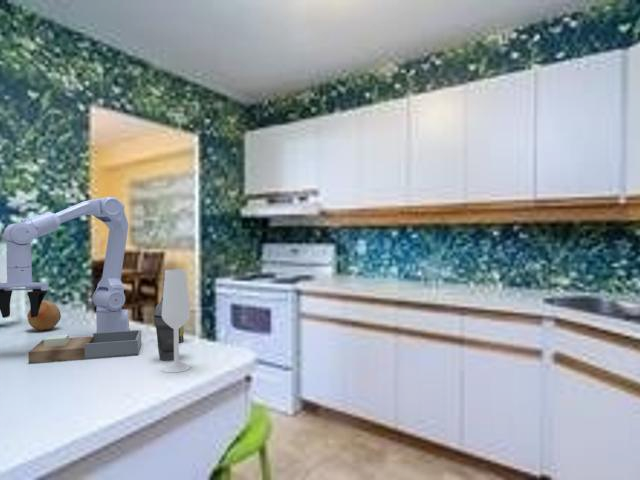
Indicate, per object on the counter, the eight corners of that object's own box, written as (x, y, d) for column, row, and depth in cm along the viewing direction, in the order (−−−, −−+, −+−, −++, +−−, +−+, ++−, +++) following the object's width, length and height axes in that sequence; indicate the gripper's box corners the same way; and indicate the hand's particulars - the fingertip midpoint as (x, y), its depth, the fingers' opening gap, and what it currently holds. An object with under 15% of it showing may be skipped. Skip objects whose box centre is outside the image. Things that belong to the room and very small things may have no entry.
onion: (29, 328, 163) (28, 300, 163) (62, 326, 167) (61, 298, 167) (25, 334, 154) (24, 303, 154) (59, 331, 158) (59, 301, 158)
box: (141, 343, 141) (141, 330, 141) (137, 355, 127) (137, 340, 127) (93, 346, 137) (93, 333, 137) (84, 359, 123) (84, 344, 123)
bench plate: (93, 346, 137) (93, 336, 137) (84, 359, 123) (84, 347, 123) (43, 350, 133) (43, 339, 133) (28, 363, 120) (28, 352, 120)
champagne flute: (161, 366, 117) (160, 269, 116) (189, 363, 119) (188, 268, 119) (162, 373, 111) (161, 271, 110) (192, 370, 113) (190, 270, 112)
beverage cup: (174, 362, 120) (173, 284, 119) (148, 361, 121) (147, 284, 121) (187, 355, 127) (187, 281, 126) (163, 354, 128) (162, 281, 128)
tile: (69, 341, 131) (69, 334, 131) (65, 345, 126) (65, 338, 126) (49, 342, 129) (48, 335, 129) (44, 347, 125) (44, 339, 125)
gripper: (-18, 268, 124) (-17, 320, 124) (38, 268, 124) (38, 319, 125) (-1, 266, 131) (0, 315, 131) (52, 266, 131) (53, 314, 132)
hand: (20, 316), depth 128 cm, fingers open, 7 cm apart
